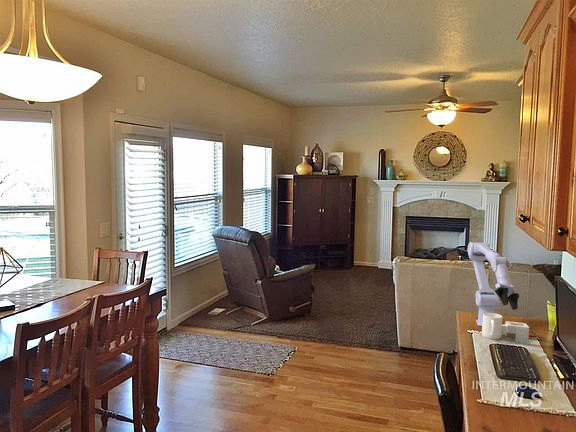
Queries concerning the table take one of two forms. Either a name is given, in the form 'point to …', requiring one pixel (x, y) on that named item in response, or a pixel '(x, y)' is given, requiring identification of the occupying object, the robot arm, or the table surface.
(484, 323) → the mug
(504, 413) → the table surface
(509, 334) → the slotted upright plate
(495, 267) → the robot arm
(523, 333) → the white upright block
